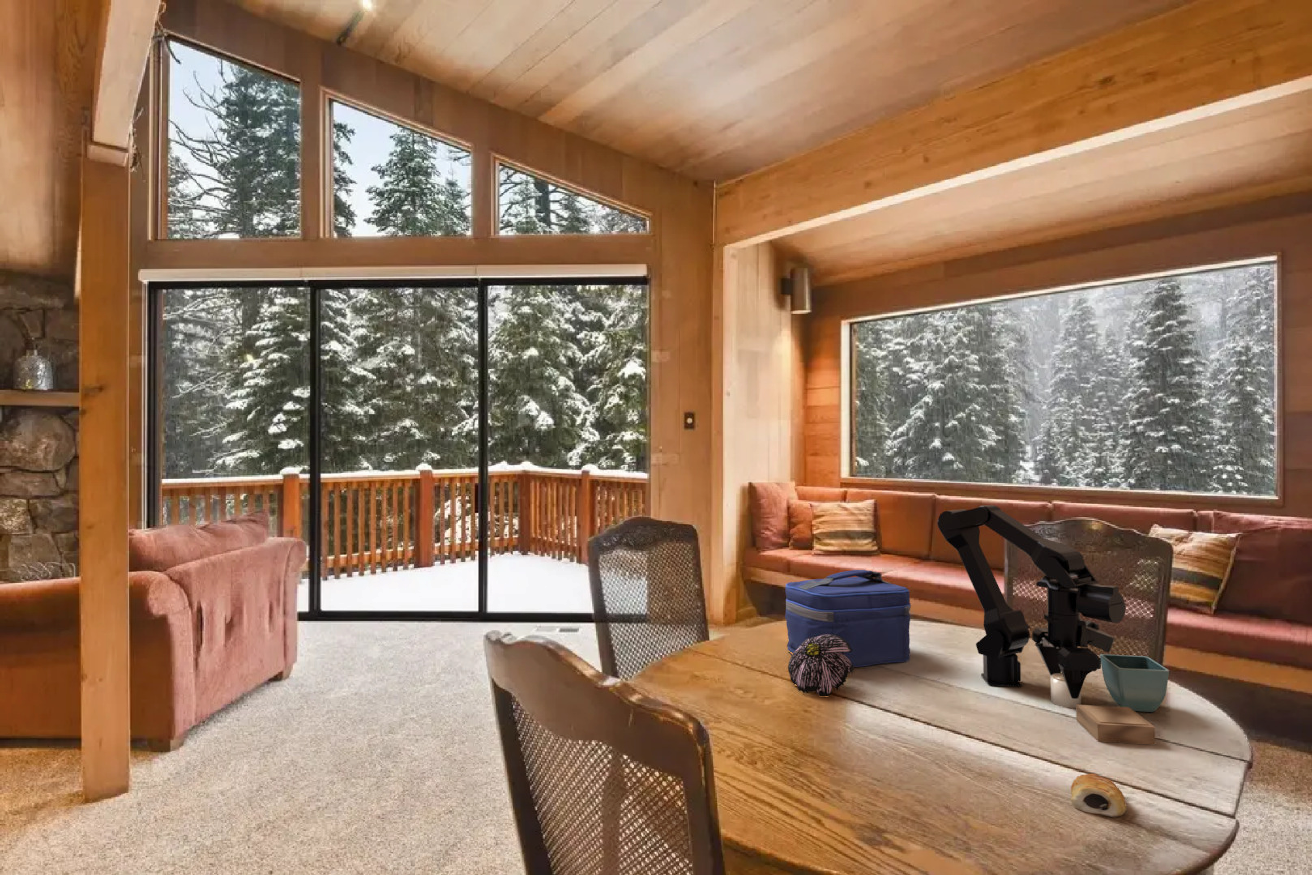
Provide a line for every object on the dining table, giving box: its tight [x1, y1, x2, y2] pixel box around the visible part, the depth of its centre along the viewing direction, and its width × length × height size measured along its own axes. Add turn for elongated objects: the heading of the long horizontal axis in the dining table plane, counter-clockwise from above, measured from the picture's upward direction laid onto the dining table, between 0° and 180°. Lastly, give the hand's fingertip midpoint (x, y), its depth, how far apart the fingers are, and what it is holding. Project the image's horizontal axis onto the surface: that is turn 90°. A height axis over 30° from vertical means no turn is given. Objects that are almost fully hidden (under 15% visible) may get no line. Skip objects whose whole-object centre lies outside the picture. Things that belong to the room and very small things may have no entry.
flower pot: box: [1099, 653, 1170, 713], centre depth 135 cm, size 9×9×9 cm
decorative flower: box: [787, 634, 854, 697], centre depth 149 cm, size 15×12×15 cm
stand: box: [1075, 704, 1156, 745], centre depth 124 cm, size 9×9×3 cm
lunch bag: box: [784, 569, 912, 668], centre depth 171 cm, size 31×21×20 cm
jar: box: [1049, 672, 1082, 709], centre depth 137 cm, size 5×5×5 cm
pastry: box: [1070, 773, 1127, 818], centre depth 101 cm, size 9×7×4 cm
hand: (1065, 689), depth 137 cm, fingers open, 9 cm apart
